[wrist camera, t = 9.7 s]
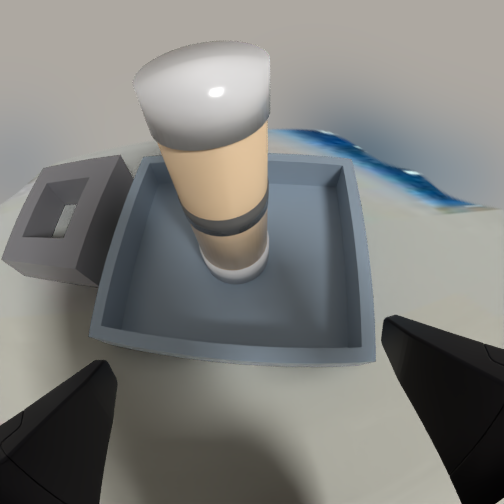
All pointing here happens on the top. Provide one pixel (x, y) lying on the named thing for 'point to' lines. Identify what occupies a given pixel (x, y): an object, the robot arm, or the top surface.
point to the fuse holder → (80, 226)
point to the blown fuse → (215, 147)
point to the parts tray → (251, 293)
